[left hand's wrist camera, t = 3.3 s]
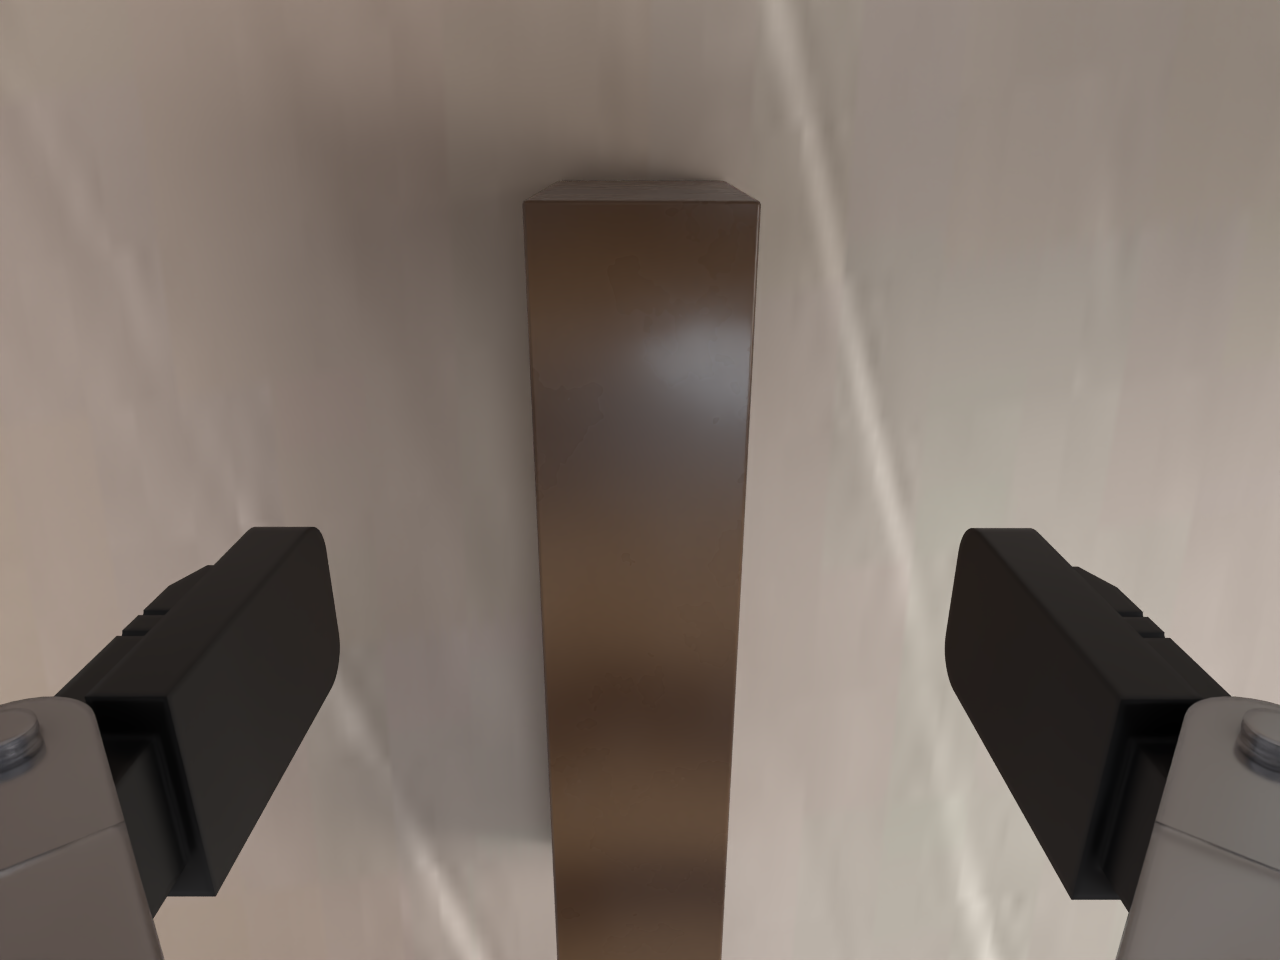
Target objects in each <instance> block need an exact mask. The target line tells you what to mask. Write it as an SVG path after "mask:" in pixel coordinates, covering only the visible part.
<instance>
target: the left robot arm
mask: <svg viewBox="0 0 1280 960" xmlns="http://www.w3.org/2000/svg"><path fill="white" fill-rule="evenodd" d="M339 654H340V641H339V632H338V625H337V618H336V612H335V605H334V598H333V592H332V585H331V578H330V572H329V565H328V558H327V552H326V546H325V542H324V539H323V536H322V534H321V532H320V531H319V530H318V529H317V528H315V527H253V528H251V529H249V530H248V531H247V532H246V533H245V534H244V535H243V536H242V537H241V538H240V539H239V540H238V541H237V542H236V543H235V544H234V545H233V546H232V547H231V548H230V549H229V550H228V551H227V552H226V553H225V554H224V555H223V556H222V557H221V558H220V559H219V560H218V562H217V563H216V564H215V565H207V566H205V567H203V568H201V569H200V570H198V571H196V572H194V573H192V574H190V575H188V576H187V577H185V578H183V579H181V580H179V581H177V582H175V583H173V584H172V585H170V586H168V587H167V588H166V589H165V590H164V591H163V592H162V593H161V594H160V595H159V596H158V597H157V598H156V599H155V600H154V601H153V602H152V603H151V604H150V605H149V606H147V607H146V608H145V609H144V614H143V615H138V616H137V617H136V618H135V619H134V620H133V621H132V622H131V623H130V624H129V625H128V626H127V627H126V628H125V629H124V630H123V631H122V636H116V637H115V638H114V639H113V640H112V641H111V642H110V643H109V644H108V645H107V646H106V647H105V648H104V649H103V650H102V651H101V652H100V653H99V654H98V655H96V656H95V657H94V658H93V659H92V660H91V661H90V662H89V663H88V664H87V665H86V666H85V667H84V668H83V669H82V670H81V671H80V672H79V673H78V674H77V675H76V676H75V677H74V678H73V679H72V680H70V681H69V682H68V683H67V684H66V685H65V686H64V687H63V688H62V689H61V690H60V691H59V692H58V693H57V694H56V695H55V696H54V697H37V698H28V699H23V700H18V701H13V702H9V703H6V704H2V705H0V960H164V956H163V953H162V949H161V946H160V942H159V939H158V935H157V931H156V928H155V924H154V921H153V918H154V916H155V915H156V913H157V912H158V910H159V908H160V907H161V905H162V904H163V902H164V900H165V899H166V897H167V896H216V895H217V893H218V891H219V889H220V888H221V886H222V884H223V882H224V880H225V879H226V877H227V875H228V873H229V871H230V870H231V868H232V866H233V864H234V862H235V861H236V859H237V857H238V855H239V853H240V852H241V850H242V848H243V846H244V844H245V843H246V841H247V839H248V837H249V835H250V834H251V832H252V830H253V828H254V826H255V825H256V823H257V821H258V819H259V817H260V816H261V814H262V812H263V810H264V808H265V807H266V805H267V803H268V801H269V799H270V798H271V796H272V794H273V792H274V790H275V789H276V787H277V785H278V783H279V781H280V780H281V778H282V776H283V774H284V772H285V771H286V769H287V767H288V765H289V763H290V762H291V760H292V758H293V756H294V754H295V753H296V751H297V749H298V747H299V745H300V744H301V742H302V740H303V738H304V737H305V735H306V733H307V731H308V729H309V728H310V726H311V724H312V722H313V720H314V719H315V717H316V715H317V713H318V711H319V710H320V708H321V706H322V704H323V702H324V701H325V699H326V697H327V695H328V693H329V692H330V690H331V688H332V686H333V684H334V681H335V678H336V674H337V669H338V664H339ZM945 661H946V668H947V673H948V677H949V680H950V683H951V686H952V688H953V690H954V692H955V694H956V695H957V697H958V699H959V701H960V703H961V704H962V706H963V708H964V710H965V711H966V713H967V715H968V717H969V719H970V720H971V722H972V724H973V726H974V727H975V729H976V731H977V733H978V735H979V736H980V738H981V740H982V742H983V743H984V745H985V747H986V749H987V751H988V752H989V754H990V756H991V758H992V759H993V761H994V763H995V765H996V766H997V768H998V770H999V772H1000V774H1001V775H1002V777H1003V779H1004V781H1005V782H1006V784H1007V786H1008V788H1009V790H1010V791H1011V793H1012V795H1013V797H1014V798H1015V800H1016V802H1017V804H1018V806H1019V807H1020V809H1021V811H1022V813H1023V814H1024V816H1025V818H1026V820H1027V822H1028V823H1029V825H1030V827H1031V829H1032V830H1033V832H1034V834H1035V836H1036V838H1037V839H1038V841H1039V843H1040V845H1041V846H1042V848H1043V850H1044V852H1045V854H1046V855H1047V857H1048V859H1049V861H1050V862H1051V864H1052V866H1053V868H1054V870H1055V871H1056V873H1057V875H1058V877H1059V878H1060V880H1061V882H1062V884H1063V886H1064V887H1065V889H1066V891H1067V893H1068V894H1069V896H1070V898H1071V900H1121V901H1122V903H1123V904H1124V906H1125V907H1126V909H1127V911H1128V912H1129V914H1128V917H1127V921H1126V924H1125V928H1124V931H1123V935H1122V938H1121V942H1120V946H1119V949H1118V953H1117V956H1116V960H1280V705H1278V704H1274V703H1271V702H1267V701H1262V700H1257V699H1252V698H1243V697H1231V696H1230V695H1229V694H1228V693H1227V692H1226V691H1225V690H1224V689H1223V688H1222V687H1221V686H1220V685H1219V684H1218V683H1217V682H1216V681H1215V680H1214V679H1213V678H1212V677H1210V676H1209V675H1208V674H1207V673H1206V672H1205V671H1204V670H1203V669H1202V668H1201V667H1200V666H1199V665H1198V664H1197V663H1196V662H1195V661H1194V660H1193V659H1192V658H1191V657H1189V656H1188V655H1187V654H1186V653H1185V652H1184V651H1183V650H1182V649H1181V648H1180V647H1179V646H1178V645H1177V644H1176V643H1175V642H1174V641H1173V640H1172V639H1171V638H1165V637H1164V632H1163V631H1162V630H1161V629H1160V628H1159V627H1158V626H1157V625H1156V624H1155V623H1154V622H1153V621H1152V620H1151V619H1150V618H1149V617H1143V612H1142V611H1141V610H1140V609H1139V608H1138V607H1137V606H1136V605H1135V604H1134V603H1133V602H1132V601H1131V600H1130V599H1129V598H1128V597H1126V596H1125V595H1124V594H1123V593H1122V592H1121V591H1120V590H1119V589H1118V588H1117V587H1115V586H1113V585H1111V584H1110V583H1108V582H1106V581H1104V580H1102V579H1100V578H1098V577H1096V576H1095V575H1093V574H1091V573H1089V572H1087V571H1085V570H1083V569H1081V568H1080V567H1072V566H1071V565H1070V564H1069V563H1068V562H1067V561H1066V560H1065V559H1064V558H1063V557H1062V556H1061V555H1060V554H1059V553H1058V552H1057V551H1056V550H1055V549H1054V548H1053V547H1052V546H1051V545H1050V544H1049V543H1048V542H1047V541H1046V540H1045V539H1044V538H1043V537H1042V536H1041V535H1040V534H1039V533H1038V532H1037V531H1036V530H1034V529H1032V528H970V529H968V530H967V531H966V532H965V534H964V535H963V537H962V540H961V543H960V547H959V552H958V559H957V565H956V572H955V578H954V585H953V591H952V598H951V604H950V611H949V617H948V624H947V631H946V638H945Z"/></svg>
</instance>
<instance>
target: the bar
mask: <svg viewBox="0 0 1280 960" xmlns="http://www.w3.org/2000/svg"><path fill="white" fill-rule="evenodd" d="M760 211H761V204H760V202H759V201H757V200H756V199H754V198H752V197H751V196H749V195H747V194H746V193H744V192H742V191H740V190H739V189H737V188H735V187H734V186H732V185H730V184H729V183H727V182H725V181H558V182H556V183H554V184H552V185H551V186H549V187H547V188H546V189H544V190H542V191H540V192H539V193H537V194H535V195H534V196H532V197H530V198H528V199H527V200H525V201H524V202H523V223H524V245H525V267H526V289H527V310H528V332H529V354H530V375H531V397H532V419H533V441H534V462H535V484H536V506H537V528H538V549H539V571H540V593H541V615H542V636H543V658H544V680H545V702H546V723H547V745H548V767H549V789H550V810H551V832H552V854H553V876H554V897H555V919H556V941H557V960H721V956H722V937H723V918H724V899H725V880H726V861H727V841H728V822H729V803H730V784H731V765H732V746H733V727H734V708H735V689H736V669H737V650H738V631H739V612H740V593H741V574H742V555H743V536H744V517H745V497H746V478H747V459H748V440H749V421H750V402H751V383H752V364H753V345H754V325H755V306H756V287H757V268H758V249H759V230H760Z"/></svg>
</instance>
